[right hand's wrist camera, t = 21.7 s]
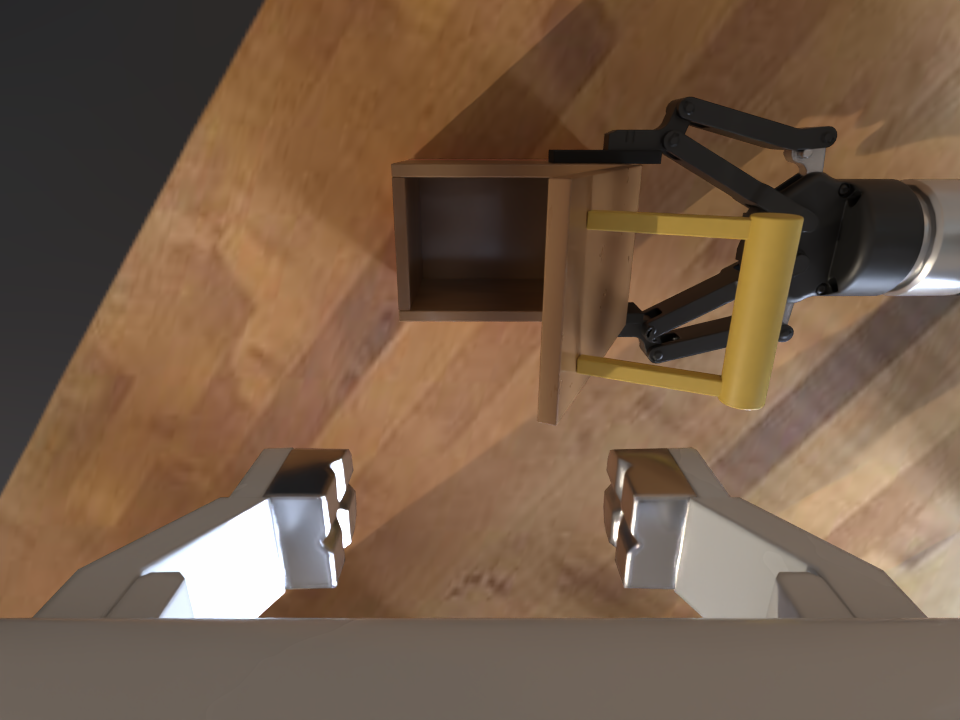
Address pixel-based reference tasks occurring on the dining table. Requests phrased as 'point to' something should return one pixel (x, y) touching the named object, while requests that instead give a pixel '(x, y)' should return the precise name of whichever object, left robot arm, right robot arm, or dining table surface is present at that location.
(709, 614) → the right robot arm
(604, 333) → the lid
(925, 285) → the left robot arm
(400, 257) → the chest
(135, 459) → the dining table surface
